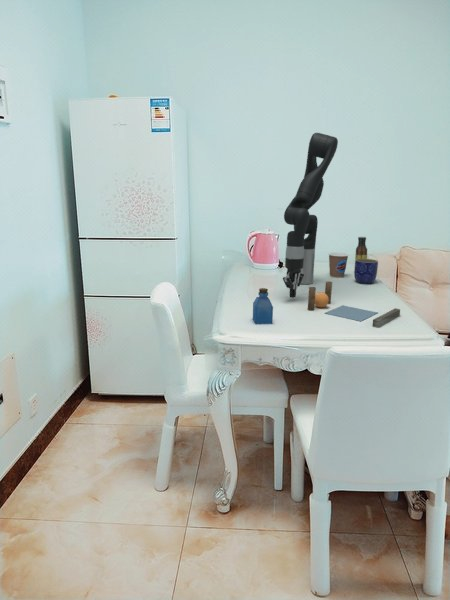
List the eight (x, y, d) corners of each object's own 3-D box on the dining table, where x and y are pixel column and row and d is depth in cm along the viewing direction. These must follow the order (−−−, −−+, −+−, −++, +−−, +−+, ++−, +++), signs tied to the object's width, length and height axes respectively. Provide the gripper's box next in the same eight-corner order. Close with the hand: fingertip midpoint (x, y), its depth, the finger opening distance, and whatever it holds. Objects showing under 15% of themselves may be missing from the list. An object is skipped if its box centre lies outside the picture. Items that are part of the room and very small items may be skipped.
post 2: (323, 303, 192) (324, 282, 190) (326, 302, 194) (327, 281, 192) (328, 304, 191) (330, 283, 188) (331, 303, 192) (333, 282, 190)
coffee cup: (335, 279, 238) (337, 256, 235) (322, 275, 247) (324, 253, 243) (351, 277, 242) (352, 254, 239) (337, 273, 251) (339, 252, 248)
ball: (318, 311, 184) (308, 301, 186) (325, 309, 188) (315, 299, 191) (327, 300, 181) (316, 290, 183) (334, 298, 185) (323, 288, 188)
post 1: (306, 309, 183) (307, 287, 180) (309, 308, 185) (311, 286, 182) (312, 310, 181) (313, 288, 179) (315, 309, 183) (317, 287, 181)
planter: (379, 282, 232) (382, 260, 229) (369, 286, 224) (372, 263, 221) (359, 279, 239) (361, 257, 236) (349, 282, 231) (351, 260, 228)
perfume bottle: (252, 319, 170) (253, 287, 167) (269, 318, 171) (270, 287, 168) (255, 324, 164) (256, 291, 161) (272, 323, 165) (273, 291, 162)
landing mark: (324, 313, 178) (324, 312, 178) (342, 305, 189) (342, 305, 189) (360, 321, 168) (360, 321, 168) (378, 313, 179) (378, 312, 179)
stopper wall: (372, 326, 163) (373, 319, 163) (394, 314, 178) (395, 308, 177) (377, 327, 162) (378, 320, 161) (399, 315, 177) (400, 309, 176)
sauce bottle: (366, 272, 255) (369, 236, 250) (365, 274, 250) (369, 238, 245) (354, 271, 258) (357, 236, 252) (353, 273, 252) (356, 237, 247)
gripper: (295, 253, 198) (293, 292, 203) (278, 257, 188) (276, 298, 193) (310, 255, 193) (308, 295, 198) (293, 259, 184) (291, 301, 188)
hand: (292, 297), depth 195 cm, fingers closed
